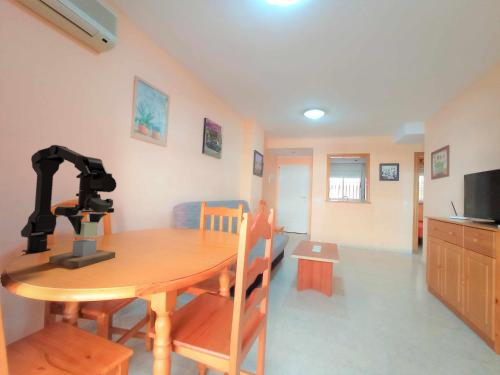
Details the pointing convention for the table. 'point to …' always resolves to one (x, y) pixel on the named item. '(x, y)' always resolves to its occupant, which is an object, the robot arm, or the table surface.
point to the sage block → (87, 229)
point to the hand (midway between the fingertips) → (85, 233)
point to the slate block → (84, 247)
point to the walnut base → (81, 259)
